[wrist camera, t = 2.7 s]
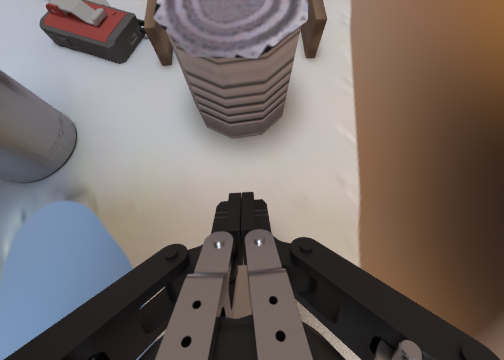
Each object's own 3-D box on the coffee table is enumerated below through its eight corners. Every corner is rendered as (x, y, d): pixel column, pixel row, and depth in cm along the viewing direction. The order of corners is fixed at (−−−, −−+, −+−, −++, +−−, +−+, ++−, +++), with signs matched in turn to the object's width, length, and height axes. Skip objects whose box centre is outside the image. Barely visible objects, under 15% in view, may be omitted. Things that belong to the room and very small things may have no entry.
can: (305, 98, 26) (345, -16, 15) (239, 158, 24) (227, 76, 12) (241, 50, 29) (233, -80, 17) (176, 99, 26) (117, -15, 15)
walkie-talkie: (162, 25, 31) (50, -6, 33) (148, -10, 27) (20, -43, 29) (131, 70, 28) (12, 32, 31) (110, 40, 24) (-27, -2, 26)
